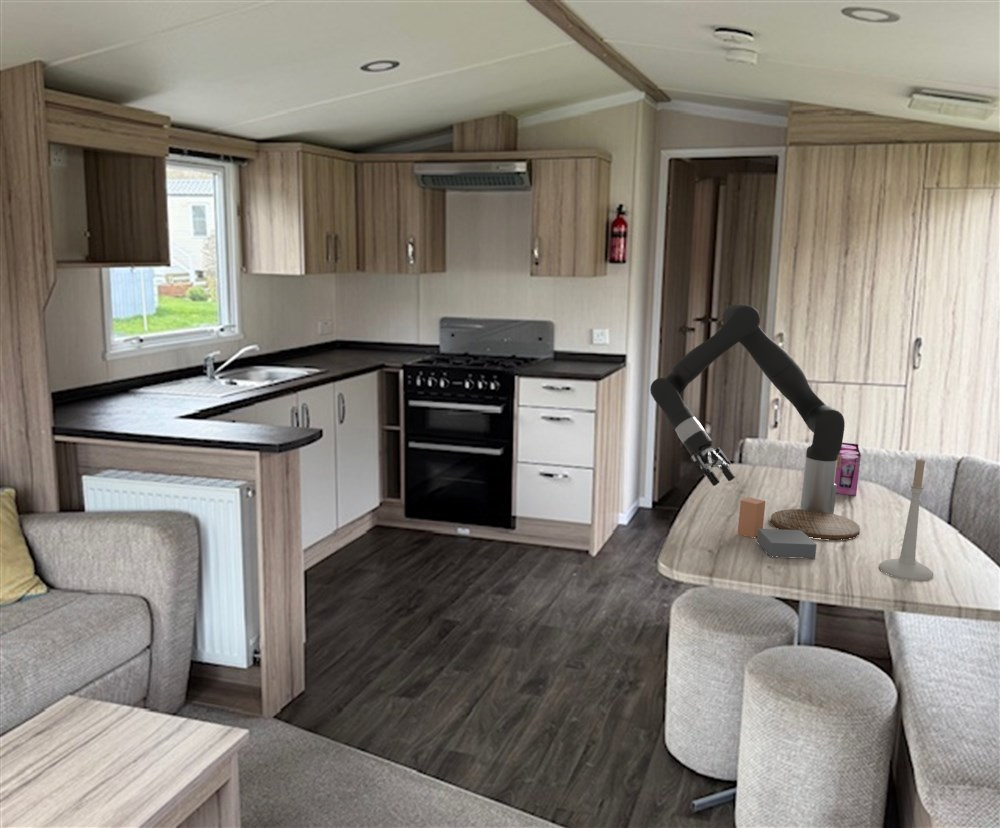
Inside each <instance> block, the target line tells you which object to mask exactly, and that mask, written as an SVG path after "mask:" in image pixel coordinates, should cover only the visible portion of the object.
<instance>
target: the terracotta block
mask: <svg viewBox="0 0 1000 828" xmlns="http://www.w3.org/2000/svg"><path fill="white" fill-rule="evenodd" d="M765 510H766V500H763V499H759V498H755V497H750V496H749V497H747V498H743V499H741V500H740V505H739V515H738V525H737V535H739V534H742V535H741V536H743V535H746V536H749V537H748V538H750V537H753V538H752V539H755V538H754V537H756V536H758V529H764V520H765V519H764V518H765ZM746 536H745V537H746ZM756 538H757V537H756Z"/></svg>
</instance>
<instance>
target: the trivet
mask: <svg viewBox="0 0 1000 828" xmlns="http://www.w3.org/2000/svg"><path fill="white" fill-rule="evenodd" d="M771 523H772V524H773V525H774V526H775V529H777V528H778V529H782V530H802V531H803V532H804V533H805V534H806V535H807V536H808V537H813V538H821V539H829V540H828V541H844V540H843V539H848V540H850V539H849V538H852V539H854V538H853V537H855V538H857V537H858V536H859V535H860V530H861V527H860V525H859V524H858V523H857V521H854V520H852V519H850V518H848V517H845V516H842V515H839V514H835V513H834V514H831V513H826V512H821V511H814V510H802V509H800V508H798V509H797V508H796V509H782V510H781V509H780V510H778V511H774V512H773V513H771V515H770V524H771ZM772 524H771V525H772ZM773 525H772V526H773ZM774 526H773V527H774ZM857 535H858V536H857ZM856 536H857V537H856ZM841 539H842V540H841Z"/></svg>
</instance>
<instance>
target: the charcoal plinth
mask: <svg viewBox="0 0 1000 828" xmlns="http://www.w3.org/2000/svg"><path fill="white" fill-rule="evenodd" d="M756 538H757V539H756V543H757V542H758V543H759V544H760V545H759V544H758V543H757V544H758V545H759V547H760V546H761V547H762V548H763V549H764V550H765V551H766V552H767V553H766V552H765V551H764V550H763V549H762V548H761V547H760V548H761V549H762V550H763V551H764V552H765V553H766V554H768V555H769V556H770V557H769V556H768V555H767V556H768V557H769V558H777V557H776V556H778V557H803V558H815V559H816V554H817V545H818V544H817V543H816V542H815V541H814V540H813V539H811V538H809V537H808V536H807V535H806V534H805V533H804V532H803V531H802V530H782V529H777V528H775V529H774V528H763V529H758V536H757V537H756ZM772 556H773V557H772ZM803 558H802V559H803Z"/></svg>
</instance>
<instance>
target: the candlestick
mask: <svg viewBox="0 0 1000 828" xmlns="http://www.w3.org/2000/svg"><path fill="white" fill-rule="evenodd" d="M925 464H926V460H925V459H922V458H918V459H916V460H915V468H914V474H913V475H914V476H913V483H910V484H909V486H910V488H911V489H910V492H911V493H912V494H911V495H912V497H911V498H910V504H909V509H908V515H907V520H906V524H905V528H904V529H905V530H904V535H903V539H902V540H903V541H902V546H901V549H900V555H899V557H898V558H888V559H886V560H883V561H882V562H880V563H879V564H878V569H879V568H880V569H881V570H882V571H883V572H882V571H881V570H880V569H879V570H880V571H881V572H882V573H884V572H885V573H884V574H886V573H887V574H886V575H888V574H889V575H888V576H890V575H892V576H891V577H893V576H894V578H896V577H897V578H898V579H900V578H901V579H902V580H905V579H907V580H906V581H912V580H914V581H917V582H923V581H924V580H926V581H929V579H930V580H932V579H933V578H934V572H933V571H932V569H930V567H928V566H926V565H925V564H923V563H920V562H918V561H916V557H917V555H916V553H917V540H918V539H917V537H918V525H919V511H920V501H921V500H920V496H921V494H923V489H925V488H926V486H925V485H923V478H924V472H925ZM932 577H933V578H932ZM931 578H932V579H931Z"/></svg>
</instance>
